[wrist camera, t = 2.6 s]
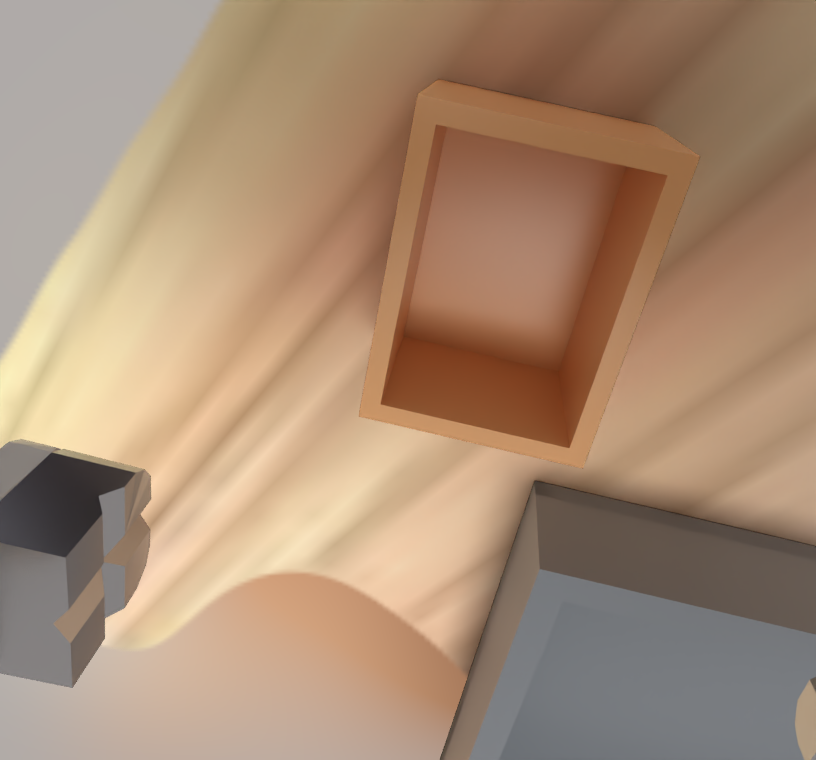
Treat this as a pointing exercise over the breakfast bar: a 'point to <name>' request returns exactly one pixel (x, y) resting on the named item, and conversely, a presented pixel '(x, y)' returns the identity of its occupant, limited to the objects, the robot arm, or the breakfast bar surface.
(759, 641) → the charcoal crate
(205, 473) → the breakfast bar surface
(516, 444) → the orange crate
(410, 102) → the breakfast bar surface
